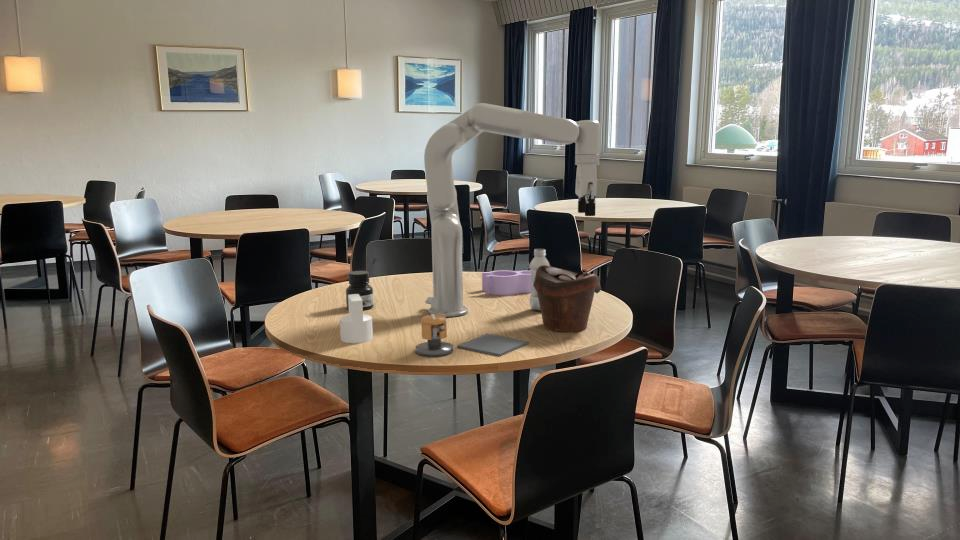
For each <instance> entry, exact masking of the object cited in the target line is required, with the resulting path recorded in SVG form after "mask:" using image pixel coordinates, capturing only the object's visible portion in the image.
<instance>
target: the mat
mask: <svg viewBox="0 0 960 540" xmlns="http://www.w3.org/2000/svg"><path fill="white" fill-rule="evenodd" d="M529 343H530V341H529V340H524V339H520V338H519V339H518V338H515V337H508V336H502V335H498V334H497V335H496V334H494V333H493V334H491V333H485V334H483V335H479V336H477V337H475V338H472V339H470V340H467V341H465V342H462V343H460V344H458V345H457V346H456V348H458V349H462V350H467V351H473V352H476V353H477V352H478V353H482V354H486V355H487V354H488V355H491V356H498V357H502V356H504V355H506V354H508V353H510V352H513V351H515V350H518V349H520V348H522V347H524V346H526V345H528V344H529Z"/></svg>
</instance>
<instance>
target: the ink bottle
mask: <svg viewBox="0 0 960 540" xmlns="http://www.w3.org/2000/svg"><path fill="white" fill-rule="evenodd" d="M347 275H348V276H347V278H348V284H349V285H348V287H346V289H345V300H346V301H345V302H346V303H345V304H346V309H348V310H349V305H348V295H350V294H359V296H360V297H361V299H362V304H363V311H365V310H369V309H372V308H373V307H374V289H373V287H372V286H371V285H370V272H369V271H366V270H354V271H349V272H348V274H347Z"/></svg>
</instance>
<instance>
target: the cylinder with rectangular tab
mask: <svg viewBox="0 0 960 540" xmlns="http://www.w3.org/2000/svg"><path fill="white" fill-rule="evenodd" d="M348 305H349V309H348V315H344V316H341V317H340V318H339V330H340V331H339V333H340V341H341V342H342V343H347V344H362V343H367V342H370V341H372V340H373V339H374V335H373V334H374V333H373V332H374V331H373V317H372V316H371V315H369V314H364V310H363V304H362V299H361V297H360V296H359V294H350V295H348Z"/></svg>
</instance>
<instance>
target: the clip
mask: <svg viewBox="0 0 960 540" xmlns="http://www.w3.org/2000/svg"><path fill="white" fill-rule="evenodd" d="M481 279H482V280H481V281H482V282H481V284H482V285H481V288H482V292H485V293H484V294H485V295H489V296H490V295H494V296H513V295H518V294H531V283H532V282H531V274H530V269H529V270H491V271H488V272H485V271H483V272H481Z"/></svg>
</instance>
